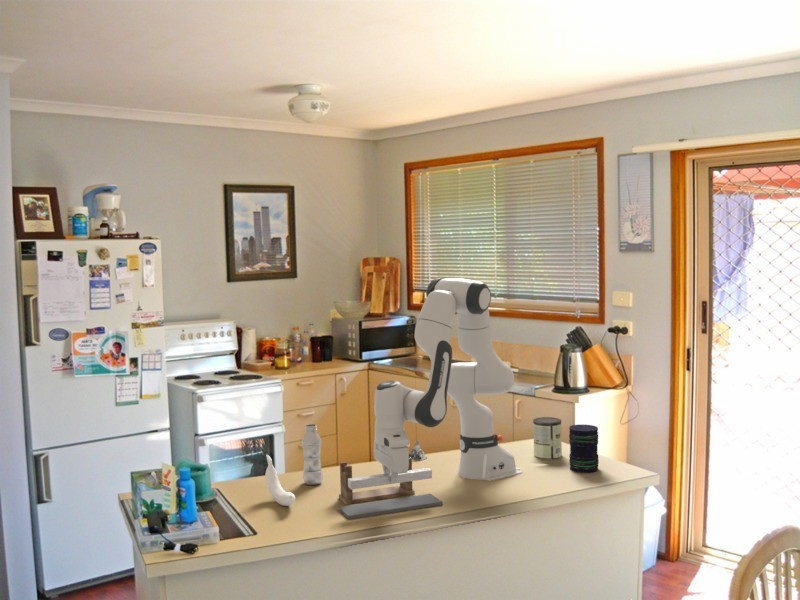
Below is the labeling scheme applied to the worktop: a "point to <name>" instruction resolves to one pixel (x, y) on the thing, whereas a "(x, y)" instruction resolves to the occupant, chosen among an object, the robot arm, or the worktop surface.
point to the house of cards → (417, 452)
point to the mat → (390, 506)
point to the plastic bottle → (312, 456)
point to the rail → (388, 478)
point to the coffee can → (547, 438)
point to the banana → (277, 486)
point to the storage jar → (583, 448)
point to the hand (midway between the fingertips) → (390, 481)
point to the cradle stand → (370, 495)
